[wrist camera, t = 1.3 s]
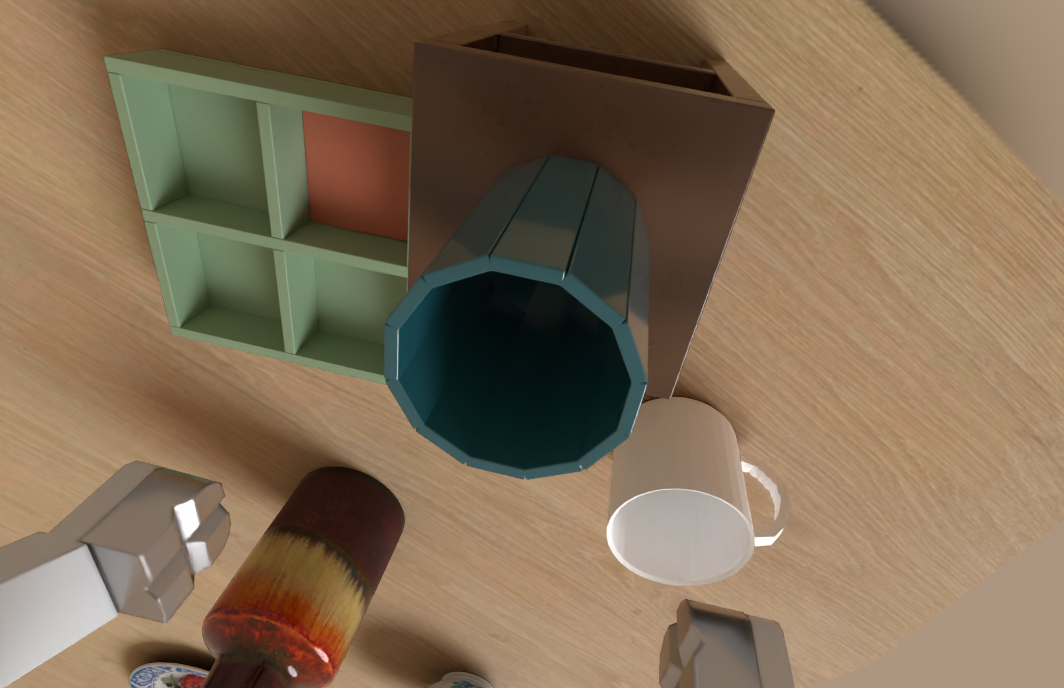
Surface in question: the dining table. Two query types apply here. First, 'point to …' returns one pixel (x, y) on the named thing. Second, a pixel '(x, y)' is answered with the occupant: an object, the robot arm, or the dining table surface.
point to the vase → (304, 585)
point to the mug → (686, 496)
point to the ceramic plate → (167, 676)
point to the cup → (529, 325)
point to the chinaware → (461, 681)
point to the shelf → (589, 152)
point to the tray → (270, 205)
